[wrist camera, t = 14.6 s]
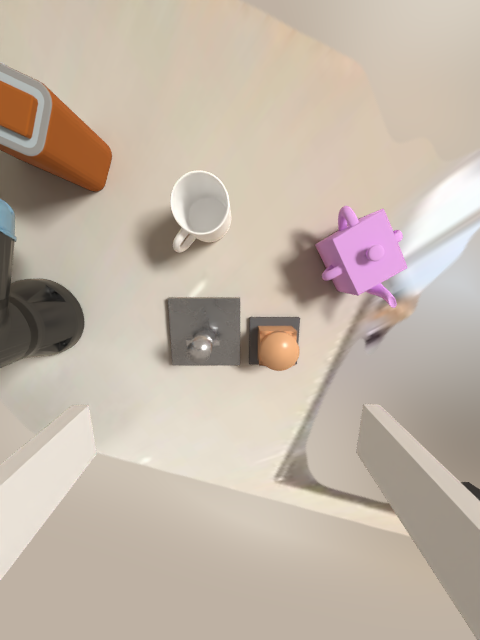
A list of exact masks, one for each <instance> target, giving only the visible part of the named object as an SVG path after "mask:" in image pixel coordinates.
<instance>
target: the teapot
mask: <svg viewBox="0 0 480 640" xmlns="http://www.w3.org/2000/svg"><path fill="white" fill-rule="evenodd" d="M347 223H348V225H347ZM338 226H339V230H338V231H337V232H335V233H333V234H332V235H330V236H328V237H327V238H325V239H323V240H322V241H320V242H318V243H317V244H315V246H316V248H317V250H318V252H319V254H320V256H321V258H322V261H323V263H324V265H325V267H326V270H325V271H324V272H323V273H322V279H323V280H325V281H328V280H331V279H332V281H333V283H334V285H335V287H336V289H337V291H340V292H344V293H349V294H354V295H360V294H361V293H363V292H368V293H370V294H373V295H377V296H379V297H381V298H383V299H384V300H386V301H387V303H388V304H389V305H390V306H391V307H393V308H395V307H396V305H397V304H396V300H395V298H394V296H393V295H392V294H391V293H390V292H389V291H388V290H387V289H386V288H385V287H384V286H383V285H382V284H381V282H383V281H385V280H387V279H388V278H390V277H392V276H394V275H396V274H397V273H399V272H401V271H403V270H405V269H406V268H407V265H406V262H405V260H404V257H403V255H402V252H401V250H400V247H399V245H398V242H399V241H401V240H402V238H403V235H402V232H401V231H400V230H396V231H393V230H392V227H391V225H390V223H389V220H388V218H387V215H386V213H385V211H384V209H381V210H378V211H376V212H374V213H371V214H369V215H366V216H364V217H362V218H359V219H357V217H356V215H355V213H354V212H353V210H352V209H351V208H350V207H349V206H344V207H342V208H341V209H340V212H339V216H338Z"/></svg>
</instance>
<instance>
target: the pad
mask: <svg viewBox="0 0 480 640" xmlns="http://www.w3.org/2000/svg"><path fill="white" fill-rule="evenodd" d="M299 324H300V318H299V317H250V343H249V364H259V361H258V326H292V327H293V328H294V329H295V330H296V331H297V340H296V342H297V344H298V339H299ZM295 364H297V361H296V363H295Z"/></svg>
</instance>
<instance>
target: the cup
mask: <svg viewBox="0 0 480 640" xmlns="http://www.w3.org/2000/svg"><path fill="white" fill-rule="evenodd" d="M170 206H171V211H172V214H173V216H174V218H175V220H176V222H177V223H178V224H179V225H180V226H181V227H182V228H181V229H180V231H179V232H178V234H177V235H176V237H175V239H174V241H173V248H174V250H175V251H176V252H183V251H185V250H186V249H187V248H189V246H190V245H191V244H192V243H193V242H194V241H195V239H196V238H197V239H199V240H201V241H204V242H215V241H217V240H219V239H221V238H222V237H224V236H225V234H226V233H227V232H228V230H229V227H230V224H231V211H230V203H229V196H228V193H227V190H226V188H225V186H224V185H223V183H222V182H221V181H220V180H219V179H218V178H217V177H216V176H215V175H213V174H211V173H209V172H206V171H199V170H198V171H191V172H188V173H186V174H184V175H183V176H182V177H180V178H179V179H178V180H177V182H176V183H175V185H174V187H173V189H172V192H171V197H170ZM189 233H190V234H189ZM188 234H189V236H188V237H187V239H186V240H185V242H184V243H183V244H182V245H181V243H182V242H183V240H184V239H185V238H186V236H187V235H188Z"/></svg>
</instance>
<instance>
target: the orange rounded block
mask: <svg viewBox="0 0 480 640" xmlns="http://www.w3.org/2000/svg"><path fill="white" fill-rule="evenodd" d="M0 150H2V151H4V152H6V153H8V154H10V155H12V156H14V157H16V158H18V159H20V160H22V161H24V162H27V163H29V164H31V165H33V166H36V167H38V168H40V169H43V170H45V171H47V172H49V173H52V174H54V175H56V176H59V177H61V178H63V179H65V180H68V181H70V182H72V183H75V184H77V185H79V186H81V187H84V188H86V189H88V190H91V191H100V190H101V189H103V187H104V186H105V183H106V179H107V175H108V172H109V168H110V164H111V160H112V153H111V150H110V148H109V146H108V145H107V144H106V143H105V142H104V141H103V140H102V139H101V138H100V137H99V136H98V135H97V134H96V133H95V132H93V131H92V130H91V129H90V128H89V127H88V126H87V125H86V124H85V123H84V122H83V121H82V120H81V119H80V118H79V117H78V116H77V115H76V114H75V113H74V112H72V111H71V110H70V109H69V108H68V107H67V106H66V105H65V104H64V103H63V102H62V101H61V100H60V99H59V98H58V97H57V96H56V95H55V94H54V93H53V92H52V91H50V90H49V89H48V88H47V87H46V86H45V85H44V84H43V83H41V82H40V81H38V80H35V79H33V78H31V77H29V76H27V75H25V74H23V73H21V72H19V71H17V70H14V69H12V68H10V67H8V66H7V65H5V64H3V63H1V62H0Z"/></svg>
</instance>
